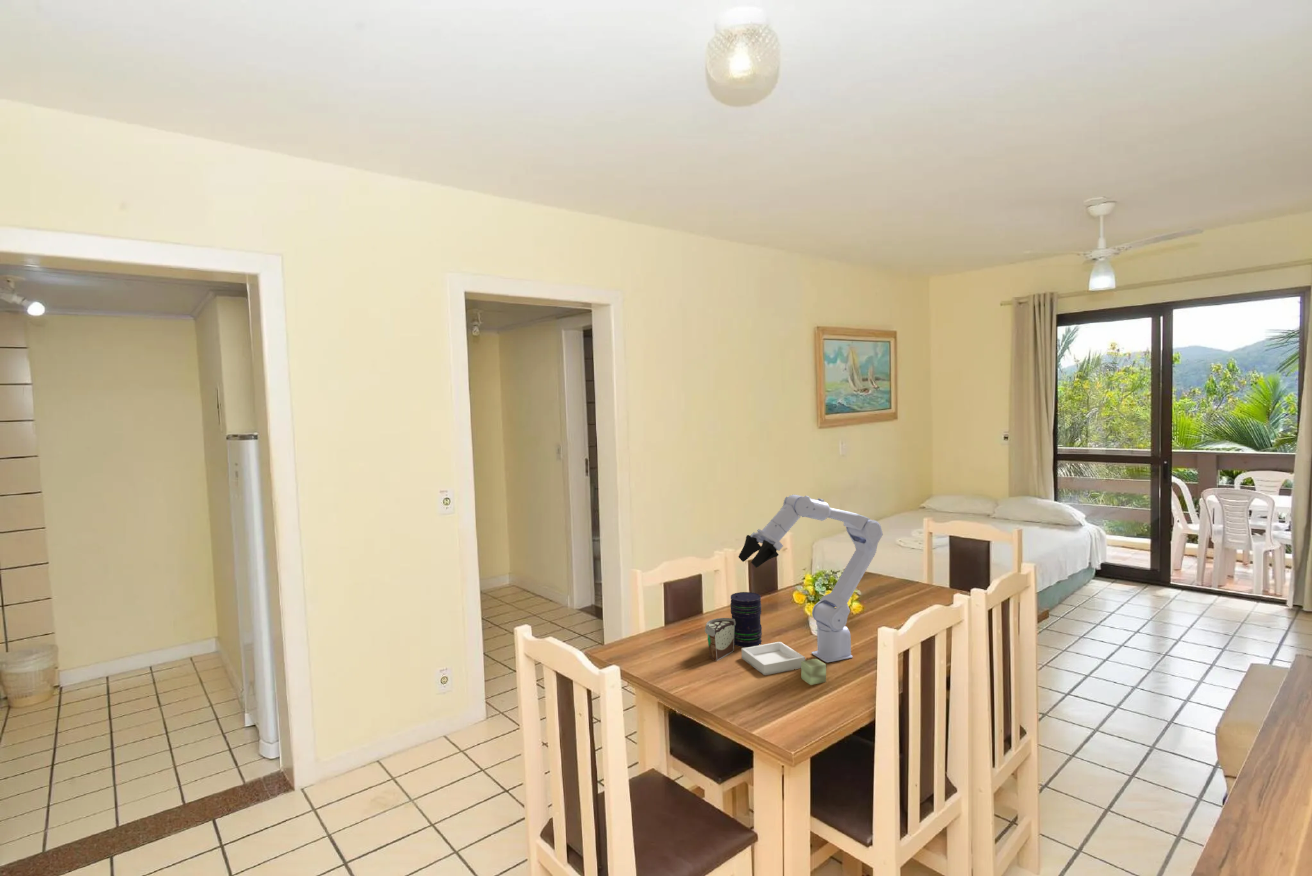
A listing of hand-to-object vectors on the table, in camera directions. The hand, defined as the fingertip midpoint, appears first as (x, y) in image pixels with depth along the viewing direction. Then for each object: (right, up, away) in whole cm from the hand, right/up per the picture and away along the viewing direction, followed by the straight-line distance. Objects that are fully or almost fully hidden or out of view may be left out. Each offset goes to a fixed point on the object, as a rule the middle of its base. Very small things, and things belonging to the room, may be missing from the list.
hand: (747, 562), depth 184 cm
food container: (-7, -32, +16) cm, 36 cm away
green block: (+18, -32, -4) cm, 37 cm away
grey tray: (+9, -31, +8) cm, 34 cm away
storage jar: (+3, -31, +25) cm, 40 cm away
